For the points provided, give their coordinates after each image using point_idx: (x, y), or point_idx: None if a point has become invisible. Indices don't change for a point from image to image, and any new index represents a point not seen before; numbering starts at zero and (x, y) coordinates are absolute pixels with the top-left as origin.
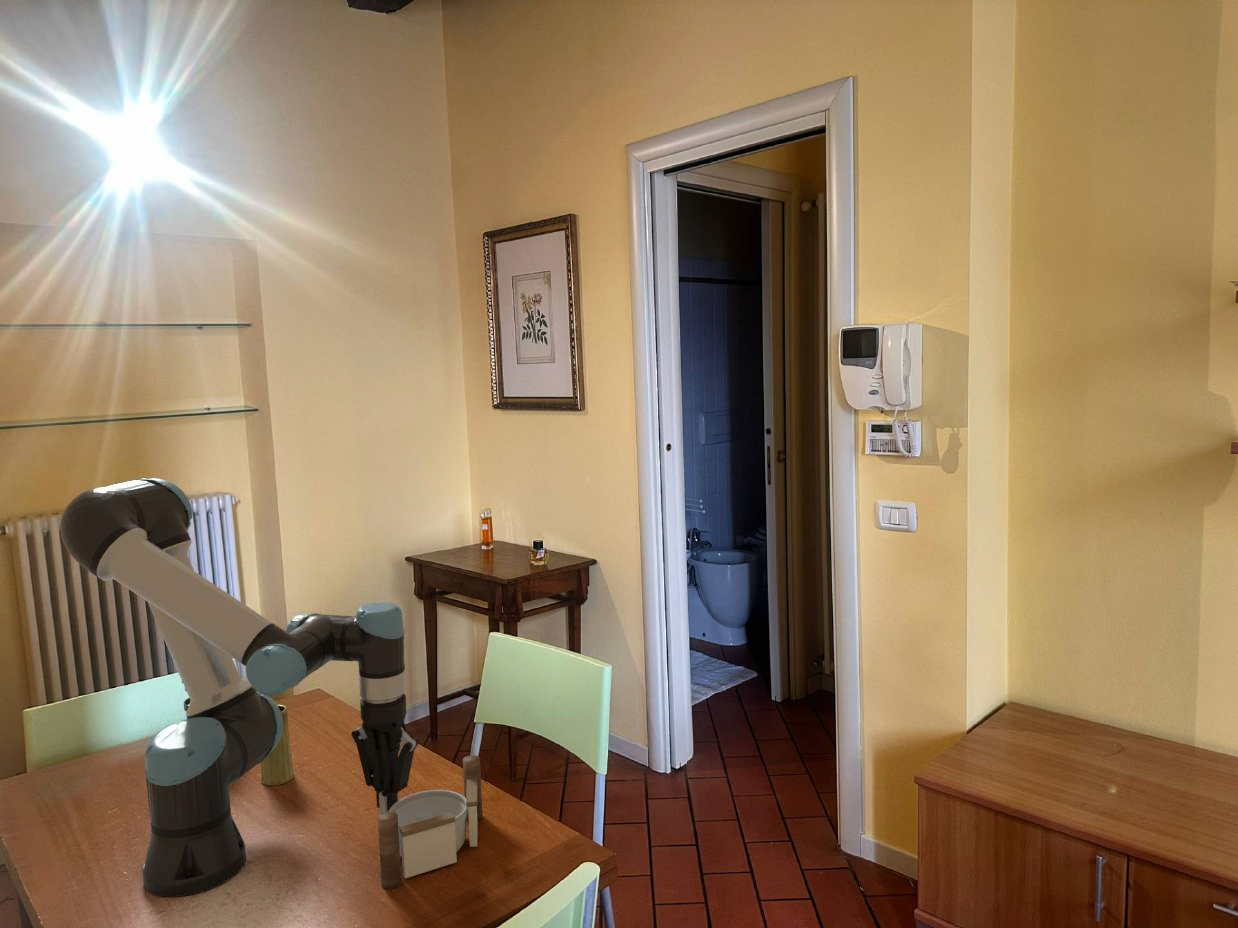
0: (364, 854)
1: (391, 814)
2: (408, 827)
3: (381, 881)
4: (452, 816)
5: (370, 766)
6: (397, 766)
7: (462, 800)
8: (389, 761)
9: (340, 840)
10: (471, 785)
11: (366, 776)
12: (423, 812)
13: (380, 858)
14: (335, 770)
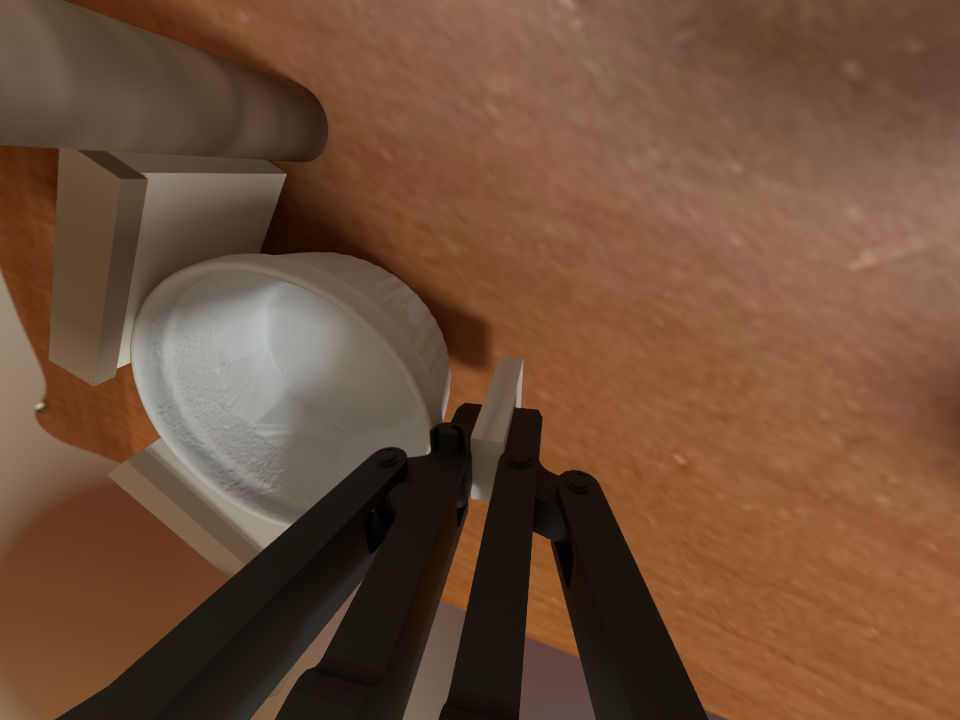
0: (512, 241)
1: None
2: (89, 198)
3: (302, 89)
4: (61, 360)
5: (580, 589)
6: (279, 585)
7: (251, 497)
8: (339, 628)
9: (662, 286)
10: (221, 556)
11: (594, 516)
12: (411, 451)
13: (222, 58)
14: (949, 630)
